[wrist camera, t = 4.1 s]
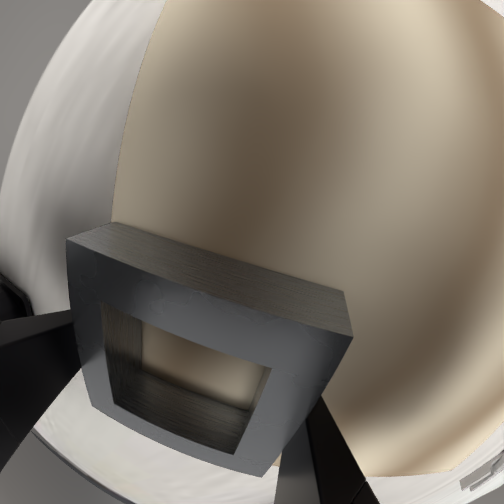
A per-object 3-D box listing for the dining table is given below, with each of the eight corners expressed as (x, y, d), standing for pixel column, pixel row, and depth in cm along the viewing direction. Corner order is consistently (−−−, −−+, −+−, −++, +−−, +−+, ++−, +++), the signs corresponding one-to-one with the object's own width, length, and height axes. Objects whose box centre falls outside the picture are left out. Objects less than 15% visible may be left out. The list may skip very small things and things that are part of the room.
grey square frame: (118, 375, 9) (92, 405, 7) (115, 221, 7) (66, 238, 5) (271, 435, 8) (261, 477, 7) (343, 291, 6) (353, 336, 4)
